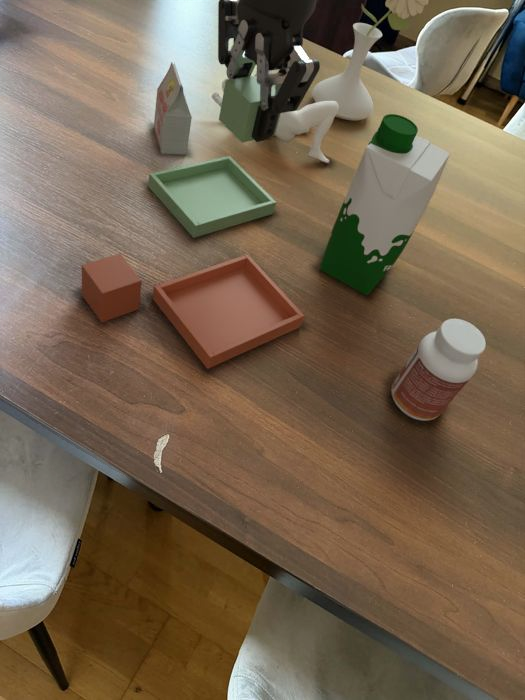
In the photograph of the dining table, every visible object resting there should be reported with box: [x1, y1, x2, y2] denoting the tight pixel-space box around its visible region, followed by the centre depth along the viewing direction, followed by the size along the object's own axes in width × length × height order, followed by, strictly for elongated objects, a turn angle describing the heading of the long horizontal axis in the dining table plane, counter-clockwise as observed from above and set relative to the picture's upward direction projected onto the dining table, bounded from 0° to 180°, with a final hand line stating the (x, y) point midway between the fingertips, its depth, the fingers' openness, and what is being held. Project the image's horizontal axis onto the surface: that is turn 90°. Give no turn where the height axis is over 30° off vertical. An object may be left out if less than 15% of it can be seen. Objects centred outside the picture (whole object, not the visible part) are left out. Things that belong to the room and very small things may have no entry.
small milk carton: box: [153, 61, 193, 156], centre depth 81 cm, size 4×7×10 cm, turn 16°
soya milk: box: [319, 113, 451, 297], centre depth 69 cm, size 9×9×20 cm
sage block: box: [218, 75, 280, 143], centre depth 61 cm, size 4×4×4 cm
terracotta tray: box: [152, 253, 306, 370], centre depth 65 cm, size 13×11×2 cm
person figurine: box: [211, 44, 339, 164], centre depth 88 cm, size 13×13×18 cm
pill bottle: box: [391, 318, 487, 422], centre depth 60 cm, size 6×6×11 cm
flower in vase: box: [311, 0, 430, 122], centre depth 94 cm, size 13×11×25 cm
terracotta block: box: [81, 253, 143, 323], centre depth 61 cm, size 4×4×4 cm
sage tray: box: [147, 155, 277, 239], centre depth 78 cm, size 13×11×2 cm
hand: (247, 125), depth 63 cm, fingers closed on sage block, 4 cm apart
